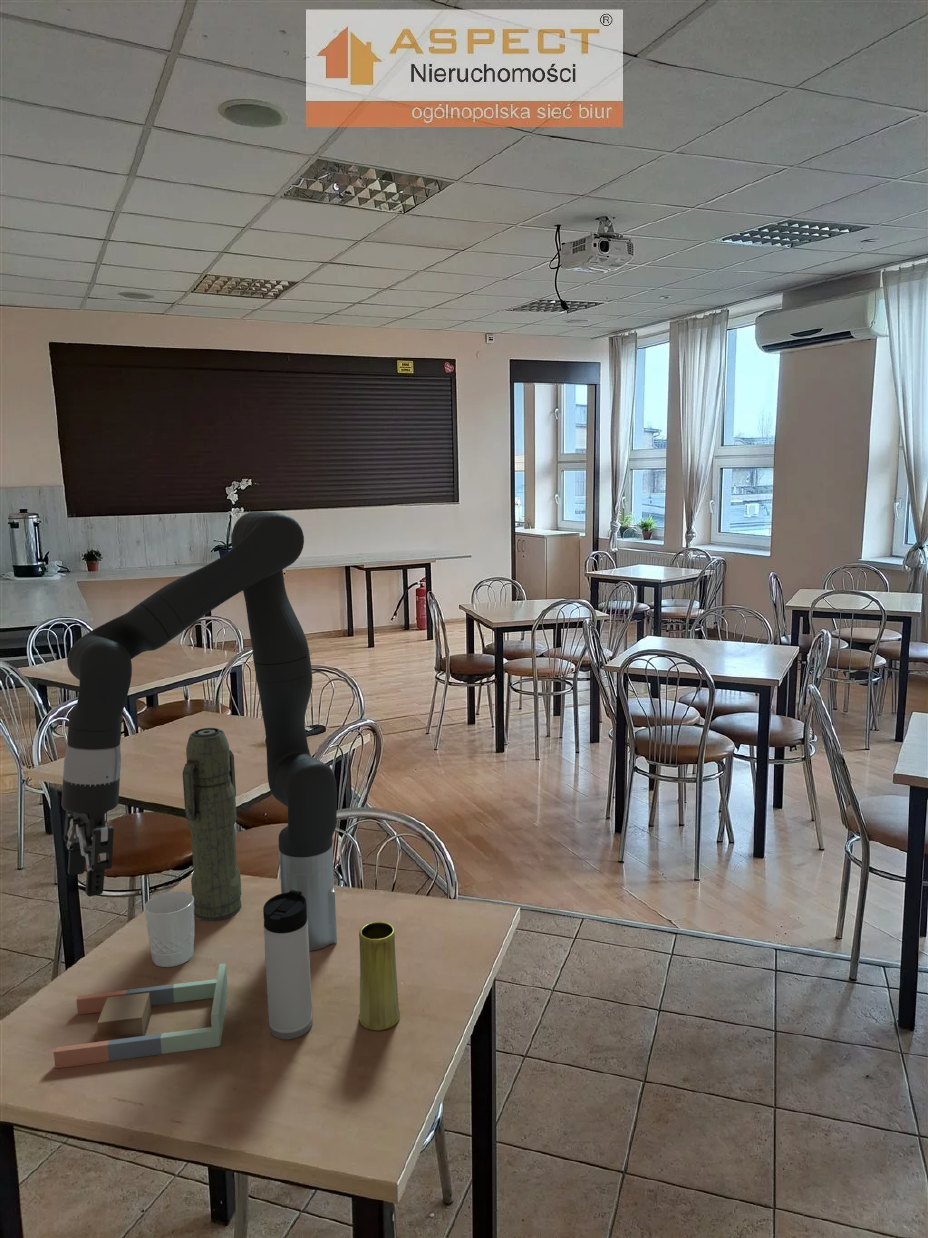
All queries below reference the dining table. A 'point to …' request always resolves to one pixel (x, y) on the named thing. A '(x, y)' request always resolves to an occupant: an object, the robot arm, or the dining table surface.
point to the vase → (378, 977)
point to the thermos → (212, 824)
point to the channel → (155, 1042)
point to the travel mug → (287, 965)
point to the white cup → (171, 927)
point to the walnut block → (124, 1017)
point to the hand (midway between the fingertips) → (84, 884)
